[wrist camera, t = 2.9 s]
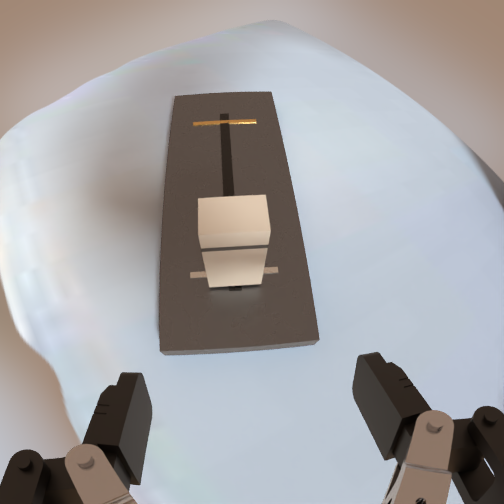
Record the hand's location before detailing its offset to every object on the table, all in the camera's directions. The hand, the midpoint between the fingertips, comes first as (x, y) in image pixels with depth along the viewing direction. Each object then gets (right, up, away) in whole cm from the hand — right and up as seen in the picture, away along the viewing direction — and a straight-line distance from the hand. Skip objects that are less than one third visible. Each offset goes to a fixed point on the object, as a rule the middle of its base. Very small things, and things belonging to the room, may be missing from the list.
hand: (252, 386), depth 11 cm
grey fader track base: (-2, +10, +21) cm, 23 cm away
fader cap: (-1, +3, +15) cm, 15 cm away
